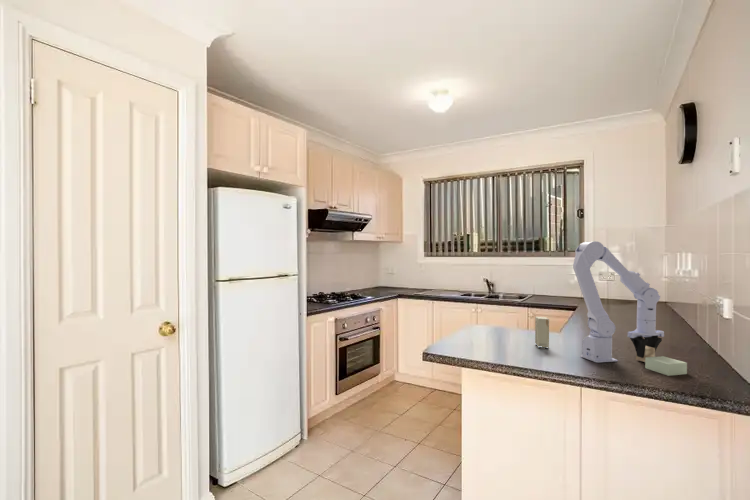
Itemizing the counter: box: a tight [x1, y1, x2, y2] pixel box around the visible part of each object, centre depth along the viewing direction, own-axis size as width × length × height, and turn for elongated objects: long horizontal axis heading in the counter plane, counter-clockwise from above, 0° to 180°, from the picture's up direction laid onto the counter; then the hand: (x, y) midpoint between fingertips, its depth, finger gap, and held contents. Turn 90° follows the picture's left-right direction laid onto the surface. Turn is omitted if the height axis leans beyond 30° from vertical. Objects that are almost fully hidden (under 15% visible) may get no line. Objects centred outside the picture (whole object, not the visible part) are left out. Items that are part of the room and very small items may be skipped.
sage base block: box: [644, 355, 688, 377], centre depth 130 cm, size 8×8×4 cm
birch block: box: [635, 346, 656, 363], centre depth 140 cm, size 4×4×5 cm
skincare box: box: [534, 316, 550, 349], centre depth 160 cm, size 6×4×12 cm
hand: (645, 356), depth 140 cm, fingers closed on birch block, 4 cm apart
